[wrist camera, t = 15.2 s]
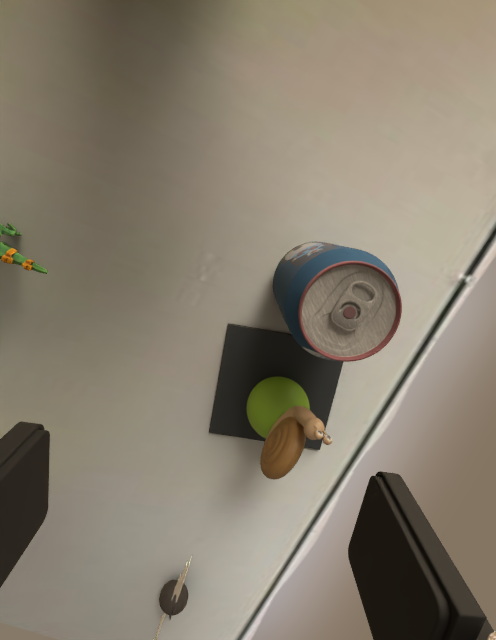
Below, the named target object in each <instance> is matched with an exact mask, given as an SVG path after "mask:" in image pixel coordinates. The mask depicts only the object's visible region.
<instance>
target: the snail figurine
mask: <svg viewBox="0 0 496 640" xmlns="http://www.w3.org/2000/svg"><path fill="white" fill-rule="evenodd" d="M247 416H248V419H249V422H250V424H251V426H252V427H253V429H254V430H255V431H256V432H257V433H258V434H259V435H261V436H262V437H264V438H266V440H265V444H264V447H263V450H262V454H261V461H260V465H261V470H262V472H263V474H264V475H265V476H266V477H267V478H270V479H279V478H281V477H283V476H285V475H286V474H287V473H288V472H289V471H290V470H291V469H292V468H293V467H294V466H295V464H296V463H297V461H298V459H299V458H300V456H301V453H302V451H303V448H304V445H305V441H306V437H307V438H309V439H311V440H317V439H322V437H323V433H325V431H324V430H325V427H324V425H323V423H322V421H321V420H320V419H318V418H316V416H315V415H314V414H313V413H312V412H311V411H310V406H309V401H308V398H307V395H306V393H305V392H304V390H303V389H302V388H301V386H300V385H298V384H297V383H296V382H294V381H293V380H291V379H288V378H285V377H270V378H267V379H264V380H263V381H261V382H259V383H258V384H257V385H256V386H255V387H254V388H253V390H252V391H251V393H250V395H249V397H248V401H247ZM325 435H326V433H325ZM323 442H324V443H325V444H327V445H329V444H331V442H332V439H331V437H330V436H328V435H326V436H324V437H323Z"/></svg>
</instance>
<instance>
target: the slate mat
mask: <svg viewBox="0 0 496 640" xmlns="http://www.w3.org/2000/svg"><path fill="white" fill-rule="evenodd" d="M342 364H343V361H334V360H327V359H323V358H320V357H317V356H315V355H313V354H311V353H309V352H308V351H306V350H305V349H304V348H303V347H301V346H300V345H299V344H298V343H297V341H296V340H295V339H294V337H293V336H292V334H286V333H280V332H274V331H269V330H263V329H257V328H252V327H246V326H240V325H234V324H228V328H227V334H226V339H225V345H224V351H223V356H222V362H221V368H220V373H219V379H218V385H217V390H216V396H215V401H214V407H213V413H212V418H211V424H210V430H209V432H210V433H216V434H222V435H229V436H235V437H241V438H248V439H254V440H260V441H265V440H266V438H264V437H262V436H261V435H259V434H258V433H257V432H256V431H255V430H254V429H253V427H252V426H251V424H250V422H249V419H248V416H247V401H248V397H249V395H250V393H251V391H252V390H253V388H254V387H255V386H256V385H257V384H258V383H259V382H261V381H263V380H264V379H267V378H270V377H285V378H288V379H291V380H293V381H294V382H296V383H297V384H298V385H300V386H301V388H302V389H303V390H304V392H305V393H306V395H307V398H308V401H309V406H310V411H311V412H312V413H313V414H314V415H315V416H316V418H318V419H320V420H321V421H322V423H323V425H324V427H325V428H326V425H327V421H328V417H329V413H330V410H331V406H332V402H333V398H334V395H335V391H336V387H337V383H338V379H339V376H340V372H341V368H342ZM324 431H325V430H324ZM323 436H324V433H323ZM322 440H323V437H322V439H317V440H311V439H309V438H307V437H306V441H305V445H304V447H305V448H311V449H318V450H320V447H321V443H322Z"/></svg>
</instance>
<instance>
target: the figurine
mask: <svg viewBox="0 0 496 640" xmlns="http://www.w3.org/2000/svg"><path fill="white" fill-rule="evenodd" d="M8 226H10V227H4V226H3V225H2V224H0V237H1V234H5V235H10V236H14V234H15V235H18V236H21V233H17V232H16V229H15V228H14V227H13V226H12V225H11V224H8ZM0 259H1V261H4V262H5V263H10V264H18V265H21V266H22V267H24V269H26V270H28V271H29V270H35V271H37V272H40V273H46V274H47V273H48V271H47V270H46V269H44V268H43V267H41V266H39V265H38V264H36V263H35V262H34V261H32V260H29V259H27V258H25V257H23V256H22V255H20V254H19V253H18V252H17V250H16V249H14V248H11V246H9V245H8V244H6V243H4V242H1V241H0Z"/></svg>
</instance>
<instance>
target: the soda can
mask: <svg viewBox="0 0 496 640" xmlns="http://www.w3.org/2000/svg"><path fill="white" fill-rule="evenodd" d="M273 292H274V296H275V299H276V302H277V304H278V306H279V308H280V310H281V313H282V315H283V317H284V319H285V321H286V324H287V326H288V328H289V330H290V332H291V334H292V336H293V337H294V339H295V340H296V341H297V343H298V344H299V345H300V346H301V347H303V348H304V349H305V350H306V351H308V352H309V353H311V354H313V355H315V356H317V357H320V358H323V359H327V360H334V361H357V360H361V359H364V358H367V357H369V356H372V355H374V354H375V353H377V352H378V351H380V350H381V349H382V348H384V347H385V346H386V345H387V343H388V342H389V341H390V340H391V338H392V337H393V335H394V334H395V332H396V330H397V328H398V325H399V322H400V318H401V312H402V304H401V297H400V293H399V290H398V286H397V283H396V280H395V278H394V276H393V274H392V273H391V271H390V270H389V268H388V267H387V266H386V265H385V264H384V263H383V262H382V261H381V260H380V259H378V258H377V257H375V256H374V255H372V254H370V253H368V252H365V251H362V250H358V249H353V248H348V247H343V246H338V245H333V244H328V243H323V242H309V243H305V244H302V245H299V246H297V247H295V248H294V249H292V250H291V251H289V252H288V253H287V254H286V255H285V256H284V257H283V258H282V260H281V261H280V262H279V264H278V266H277V268H276V271H275V274H274V278H273Z"/></svg>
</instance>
